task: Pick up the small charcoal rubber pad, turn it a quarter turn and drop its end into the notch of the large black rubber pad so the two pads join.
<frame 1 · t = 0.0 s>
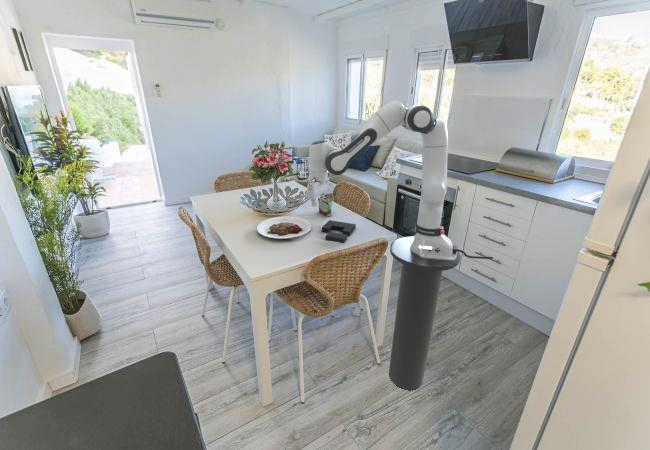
hand: (318, 203, 155), 20 cm above the table, tool pointing down, fingers open, 8 cm apart
plated food: (284, 229, 175), on the table
grey pad: (336, 239, 164), on the table
black pad: (338, 229, 176), on the table
food container: (327, 214, 200), on the table
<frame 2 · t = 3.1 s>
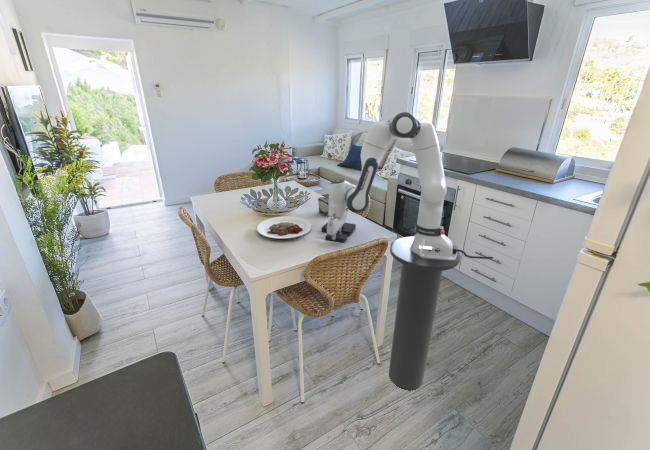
hand: (336, 236, 164), 2 cm above the table, tool pointing down, fingers closed on grey pad, 6 cm apart
grey pad: (336, 239, 164), on the table, touching gripper
everything else where it was.
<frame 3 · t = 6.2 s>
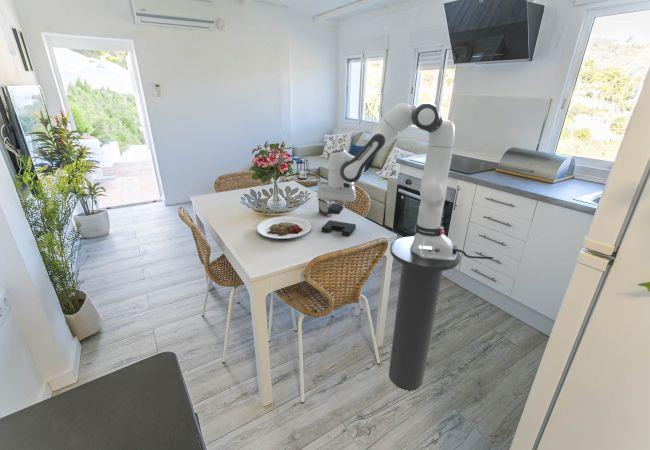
hand: (335, 207, 165), 15 cm above the table, tool pointing down, fingers closed on grey pad, 6 cm apart
grey pad: (335, 210, 166), point 13 cm above the table, touching gripper
everything else where it was.
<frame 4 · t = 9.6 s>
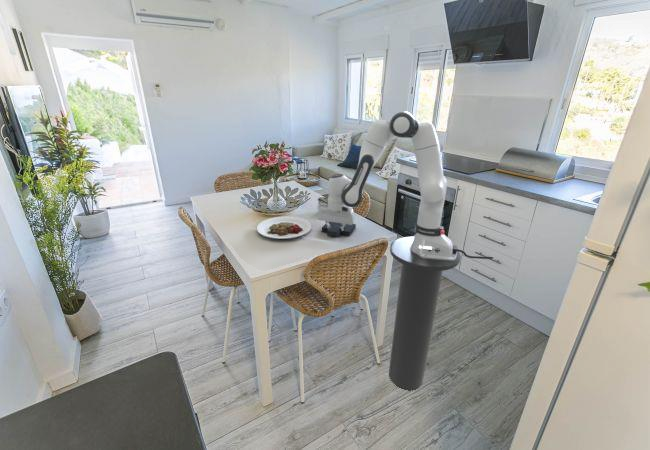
hand: (335, 229, 170), 3 cm above the table, tool pointing down, fingers closed on grey pad, 6 cm apart
grey pad: (335, 232, 171), point 1 cm above the table, touching gripper
everything else where it was.
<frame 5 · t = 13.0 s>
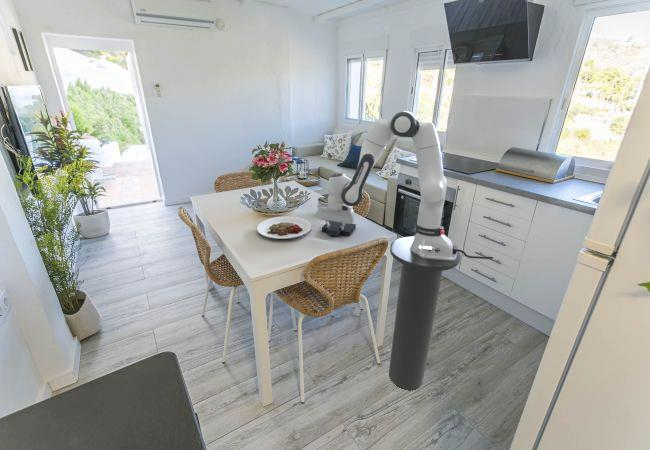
hand: (335, 228, 170), 3 cm above the table, tool pointing down, fingers closed on grey pad, 6 cm apart
grey pad: (335, 231, 170), point 1 cm above the table, touching gripper
everything else where it was.
when the fingers open (3 cm above the table, at t = 16.1 s): grey pad drops 1 cm, on the table.
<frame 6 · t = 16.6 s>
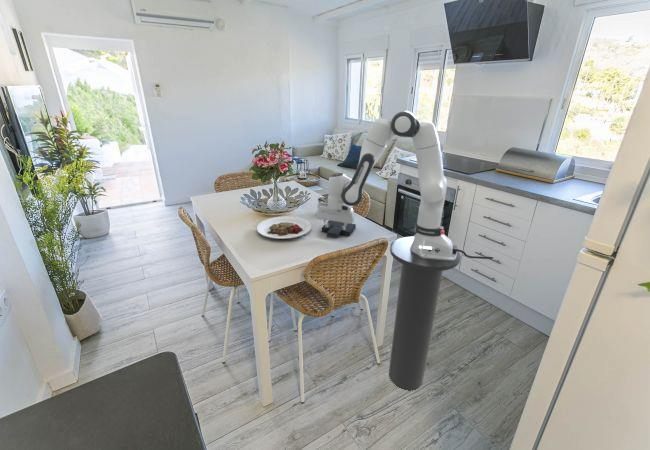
hand: (335, 228, 170), 3 cm above the table, tool pointing down, fingers open, 8 cm apart
grey pad: (335, 233, 171), on the table
everything else where it was.
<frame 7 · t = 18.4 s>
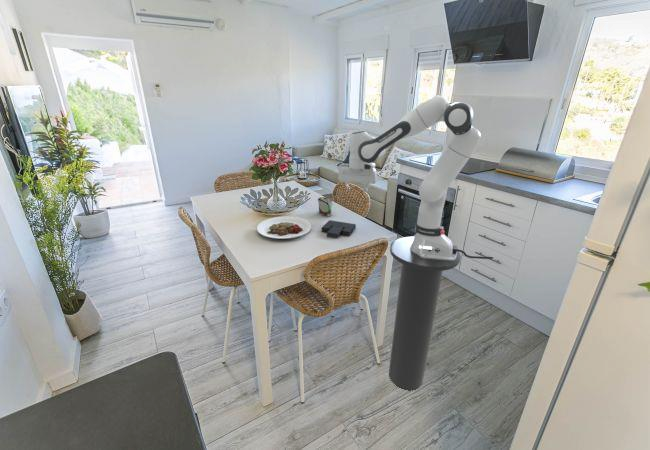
hand: (356, 190, 165), 24 cm above the table, tool pointing down, fingers open, 8 cm apart
nothing on the table moved.
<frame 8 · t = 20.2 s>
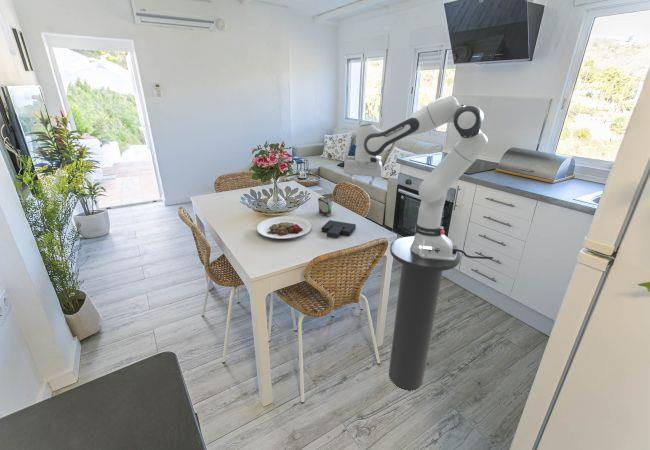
hand: (362, 183, 165), 27 cm above the table, tool pointing down, fingers open, 8 cm apart
nothing on the table moved.
at the end: grey pad 0.1 cm from the target spot on the black pad, point 0.0 cm above the black pad's base; grey pad tilted 0°; the gripper is holding nothing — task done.
